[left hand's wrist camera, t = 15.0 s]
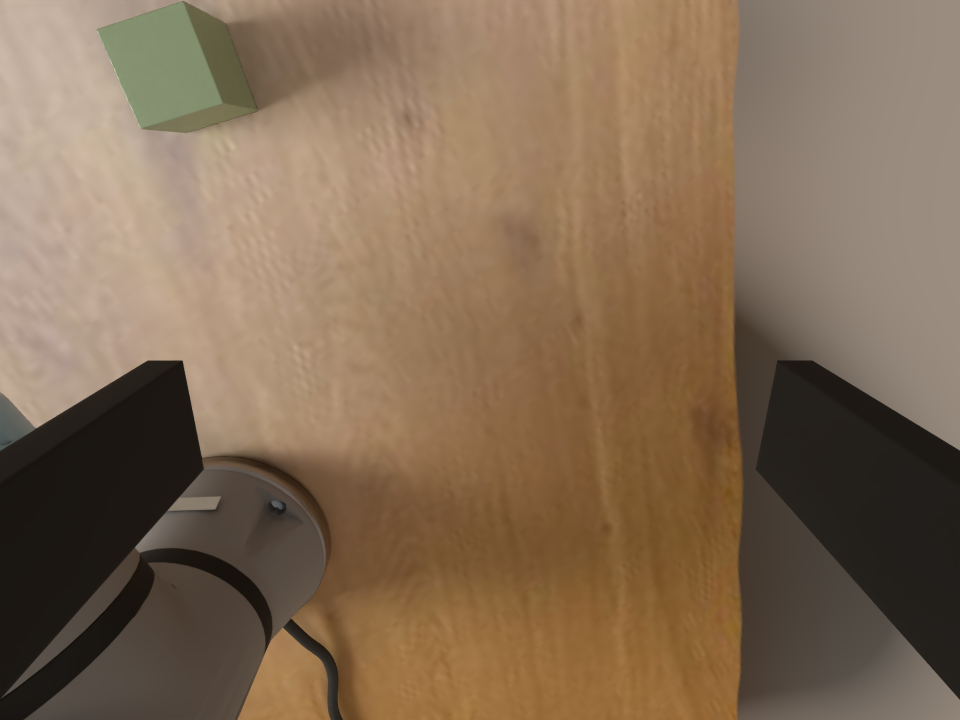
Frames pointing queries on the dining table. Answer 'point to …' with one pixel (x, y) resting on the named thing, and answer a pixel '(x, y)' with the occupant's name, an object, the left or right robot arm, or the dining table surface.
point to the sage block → (178, 69)
